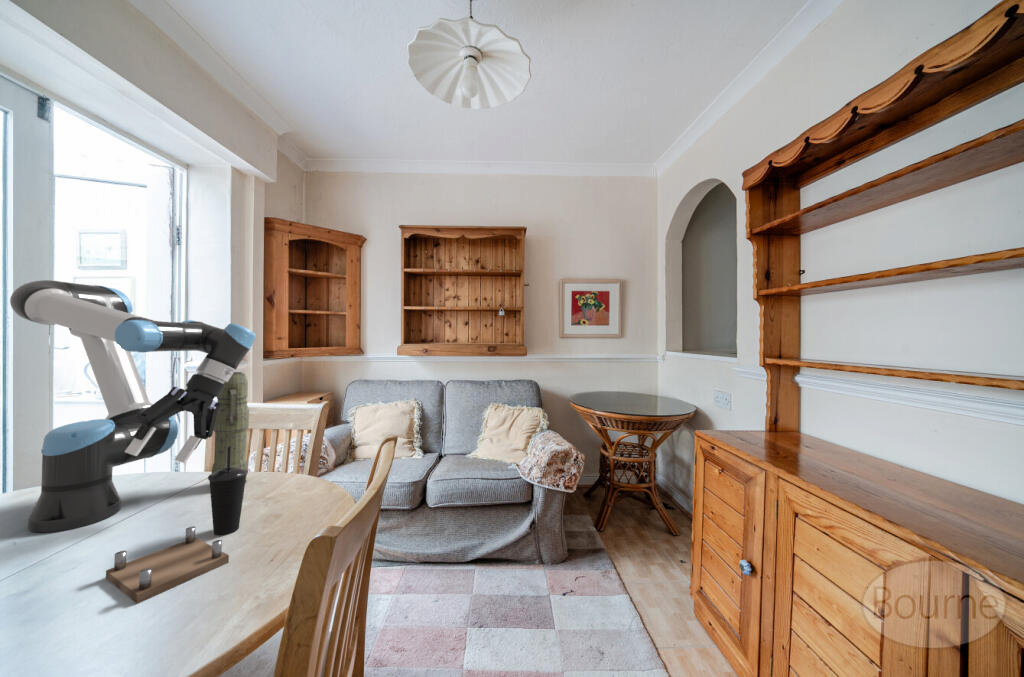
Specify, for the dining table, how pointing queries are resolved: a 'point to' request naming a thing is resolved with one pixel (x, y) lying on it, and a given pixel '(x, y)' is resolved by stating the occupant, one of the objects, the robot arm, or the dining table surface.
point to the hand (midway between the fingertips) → (156, 458)
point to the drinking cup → (227, 497)
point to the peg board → (165, 567)
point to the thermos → (232, 424)
